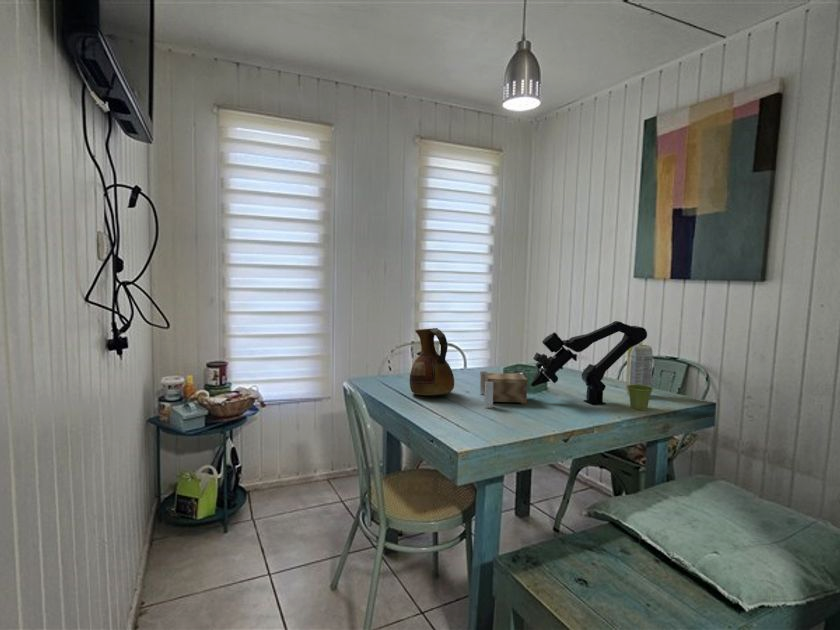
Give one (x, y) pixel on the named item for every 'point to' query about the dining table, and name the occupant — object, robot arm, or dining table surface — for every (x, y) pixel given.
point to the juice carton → (639, 366)
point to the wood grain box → (508, 387)
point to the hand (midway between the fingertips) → (531, 385)
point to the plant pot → (639, 396)
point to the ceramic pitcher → (431, 366)
